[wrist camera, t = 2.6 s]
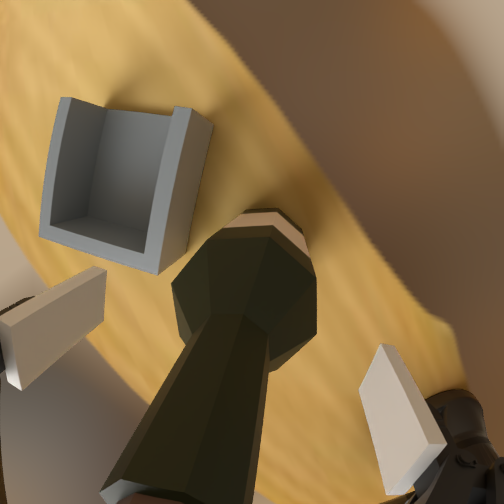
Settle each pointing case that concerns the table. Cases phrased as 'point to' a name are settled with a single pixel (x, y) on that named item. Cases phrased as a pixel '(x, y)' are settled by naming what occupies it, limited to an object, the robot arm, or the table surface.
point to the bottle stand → (123, 182)
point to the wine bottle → (222, 365)
